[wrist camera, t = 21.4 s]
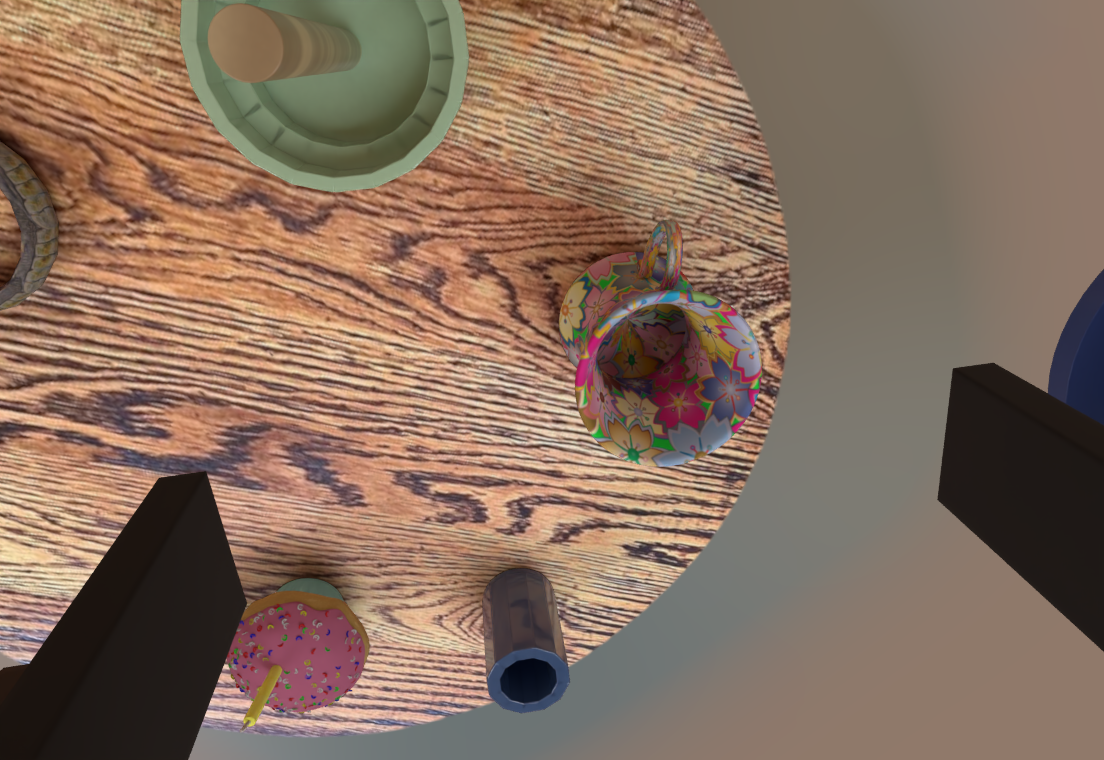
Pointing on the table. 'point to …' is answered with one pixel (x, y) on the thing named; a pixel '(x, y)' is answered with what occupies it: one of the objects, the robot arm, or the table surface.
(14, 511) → the table surface
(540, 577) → the holder
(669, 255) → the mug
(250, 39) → the stick
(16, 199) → the decorative ring
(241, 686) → the cupcake
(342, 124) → the bowl
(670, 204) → the table surface
